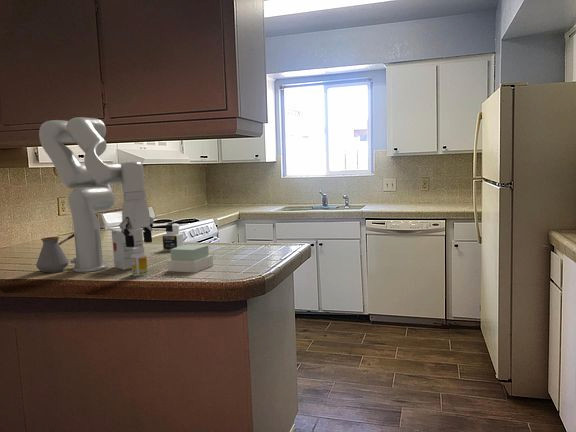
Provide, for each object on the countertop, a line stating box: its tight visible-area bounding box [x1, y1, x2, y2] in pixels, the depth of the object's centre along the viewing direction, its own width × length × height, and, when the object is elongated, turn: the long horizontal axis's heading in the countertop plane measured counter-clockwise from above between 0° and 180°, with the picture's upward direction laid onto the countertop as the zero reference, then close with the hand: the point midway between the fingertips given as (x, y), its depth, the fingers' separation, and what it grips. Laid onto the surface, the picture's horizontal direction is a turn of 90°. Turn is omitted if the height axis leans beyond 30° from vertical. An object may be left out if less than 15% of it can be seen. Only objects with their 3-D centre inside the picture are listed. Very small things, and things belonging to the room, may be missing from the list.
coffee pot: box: [35, 233, 74, 273], centre depth 197 cm, size 21×12×15 cm, turn 143°
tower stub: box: [166, 244, 214, 273], centre depth 187 cm, size 12×12×8 cm
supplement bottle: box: [131, 246, 149, 277], centre depth 180 cm, size 5×5×10 cm
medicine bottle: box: [162, 223, 185, 252], centre depth 232 cm, size 7×7×12 cm
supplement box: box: [111, 228, 144, 271], centre depth 195 cm, size 9×9×15 cm
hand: (139, 244), depth 179 cm, fingers open, 9 cm apart
